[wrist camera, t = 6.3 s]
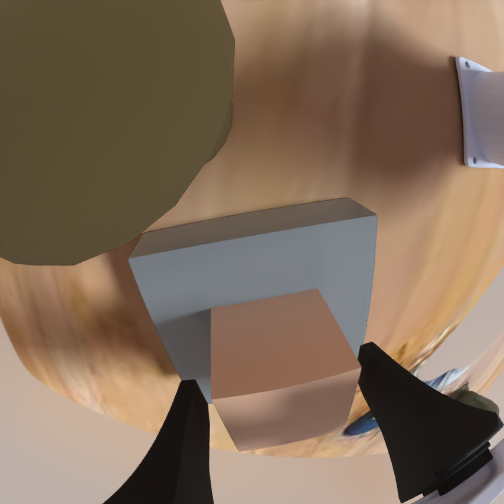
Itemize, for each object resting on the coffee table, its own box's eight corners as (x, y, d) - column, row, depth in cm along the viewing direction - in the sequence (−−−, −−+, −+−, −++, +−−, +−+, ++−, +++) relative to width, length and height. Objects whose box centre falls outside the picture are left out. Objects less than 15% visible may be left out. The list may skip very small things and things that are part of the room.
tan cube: (316, 357, 15) (344, 428, 10) (231, 374, 14) (238, 451, 10) (317, 288, 12) (361, 367, 8) (211, 308, 12) (211, 399, 8)
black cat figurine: (431, 405, 30) (434, 419, 34) (461, 458, 19) (458, 463, 23) (478, 366, 28) (475, 387, 32) (513, 414, 17) (502, 427, 21)
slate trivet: (349, 197, 14) (377, 215, 11) (342, 343, 19) (357, 372, 16) (144, 232, 13) (127, 258, 11) (196, 372, 18) (195, 404, 15)
